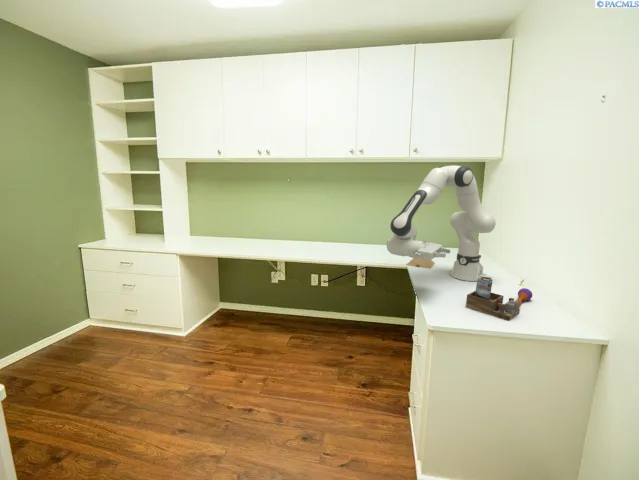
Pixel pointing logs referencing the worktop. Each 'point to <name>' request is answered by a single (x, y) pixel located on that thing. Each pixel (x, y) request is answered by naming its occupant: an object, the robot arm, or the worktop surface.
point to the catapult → (493, 306)
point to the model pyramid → (421, 263)
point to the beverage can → (483, 287)
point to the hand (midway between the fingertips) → (447, 253)
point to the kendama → (524, 295)
